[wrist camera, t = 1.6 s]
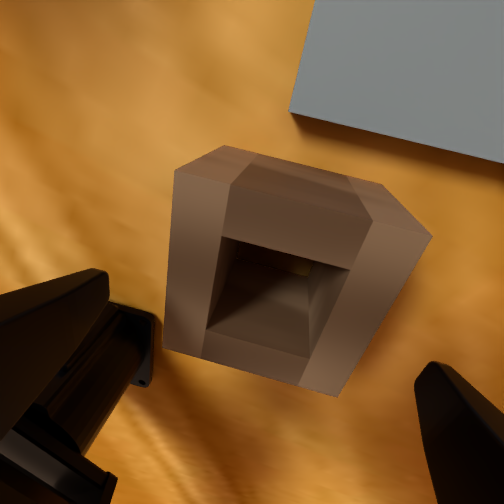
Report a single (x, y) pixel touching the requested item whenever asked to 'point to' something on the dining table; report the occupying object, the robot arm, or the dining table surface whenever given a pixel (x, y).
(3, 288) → the dining table surface
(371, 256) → the hollow square sleeve
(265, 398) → the dining table surface
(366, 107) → the grey peg base
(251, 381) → the dining table surface
